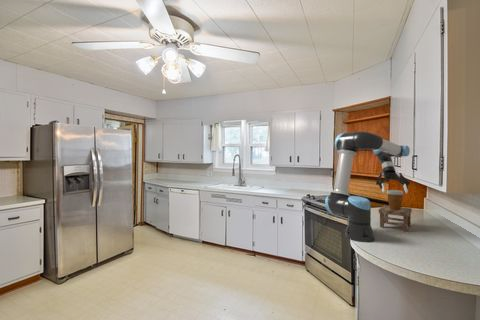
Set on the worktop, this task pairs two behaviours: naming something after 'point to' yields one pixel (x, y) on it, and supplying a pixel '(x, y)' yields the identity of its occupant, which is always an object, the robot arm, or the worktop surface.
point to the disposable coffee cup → (395, 199)
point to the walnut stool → (402, 212)
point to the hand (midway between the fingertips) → (395, 192)
